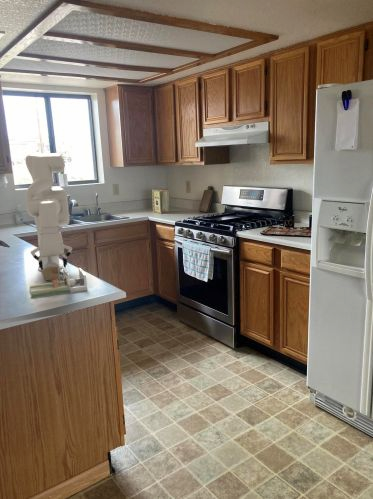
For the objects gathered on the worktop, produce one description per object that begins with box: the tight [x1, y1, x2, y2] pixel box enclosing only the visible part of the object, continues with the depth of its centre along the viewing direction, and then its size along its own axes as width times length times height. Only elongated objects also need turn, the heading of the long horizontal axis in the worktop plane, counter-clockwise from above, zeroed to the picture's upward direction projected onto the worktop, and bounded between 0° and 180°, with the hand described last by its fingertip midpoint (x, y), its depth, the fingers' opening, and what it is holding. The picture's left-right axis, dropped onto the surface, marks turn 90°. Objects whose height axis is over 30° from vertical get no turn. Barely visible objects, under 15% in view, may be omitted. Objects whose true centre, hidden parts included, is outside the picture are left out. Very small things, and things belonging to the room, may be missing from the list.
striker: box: [50, 265, 60, 288], centre depth 180 cm, size 6×3×9 cm, turn 23°
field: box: [29, 280, 69, 299], centre depth 180 cm, size 13×15×2 cm
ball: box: [67, 278, 76, 287], centre depth 183 cm, size 4×4×4 cm
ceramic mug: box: [41, 262, 64, 282], centre depth 198 cm, size 11×8×8 cm
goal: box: [62, 267, 88, 294], centre depth 183 cm, size 14×8×8 cm, turn 23°
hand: (53, 268), depth 179 cm, fingers open, 9 cm apart
